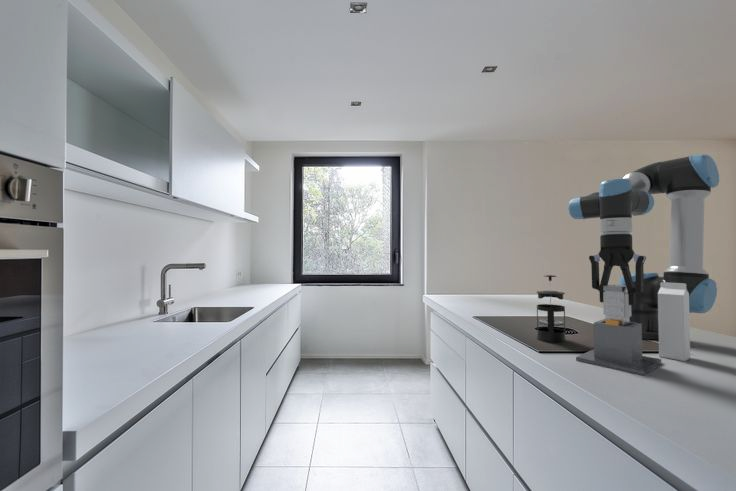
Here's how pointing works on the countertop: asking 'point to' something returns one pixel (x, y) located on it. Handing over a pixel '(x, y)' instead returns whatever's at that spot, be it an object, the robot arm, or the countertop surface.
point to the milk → (674, 321)
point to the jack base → (619, 348)
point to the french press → (550, 317)
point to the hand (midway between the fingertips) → (617, 315)
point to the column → (616, 303)
